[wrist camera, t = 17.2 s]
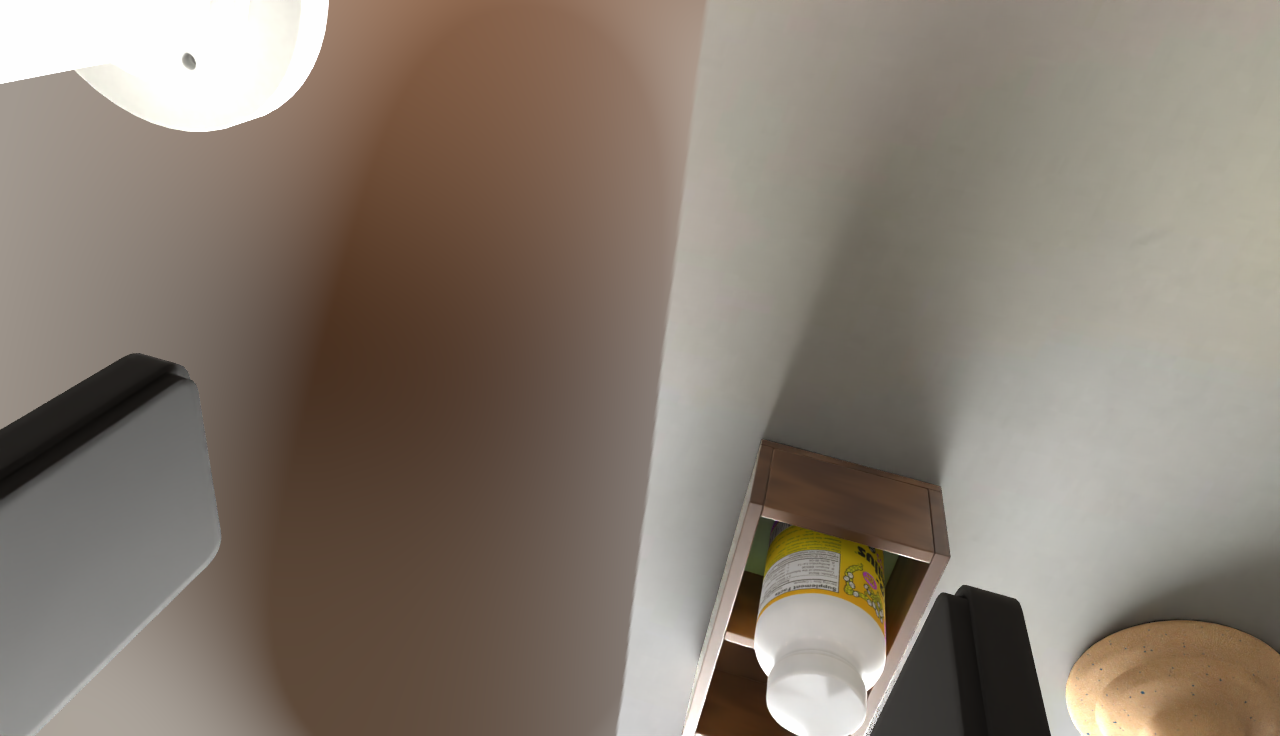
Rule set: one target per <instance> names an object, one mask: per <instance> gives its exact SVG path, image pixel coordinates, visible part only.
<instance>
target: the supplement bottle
mask: <svg viewBox="0 0 1280 736" xmlns="http://www.w3.org/2000/svg"><path fill="white" fill-rule="evenodd" d="M884 586H885V585H884V555H883V550H880V549H877V548H873V547H870V546H866V545H862V544H859V543H855V542H852V541H848V540H845V539H841V538H837V537H834V536H830V535H827V534H823V533H819V532H816V531H812V530H809V529H805V528H801V527H798V526H794V525H791V524H787V523H784V522H780V521H776V520H774V523H773V525H772V529H771V534H770V539H769V546H768V552H767V558H766V565H765V572H764V578H763V585H762V592H761V598H760V605H759V611H758V617H757V623H756V630H755V638H754V645H755V652H756V656H757V659H758V661H759V664H760V666H761V667H762V669H763V671H764V672H765V673H766V675H767V676H768V681H767V695H766V701H767V707H768V709H769V711H770V713H771V715H772V716H773V718H774V719H775V720H776V721H777V722H778V723H779V724H780V725H781V726H783V727H784V728H785V729H787V730H789V731H791V732H793V733H794V734H797V735H799V736H848V735H850V734H852V733H854V732H855V731H856V730H858V729H859V728H860V726H861V725H862V724H863V722H864V720H865V717H866V703H867V690H869V689H870V688H871V687H872V686H873V685H874V684H875V683H876V682H877V680H878V679H879V677H880V675H881V674H882V671H883V669H884V665H885V660H886V633H885V590H884Z"/></svg>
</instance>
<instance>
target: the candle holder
mask: <svg viewBox="0 0 1280 736" xmlns="http://www.w3.org/2000/svg"><path fill="white" fill-rule="evenodd" d="M1066 701H1067V706H1068V711H1069V714H1070V716H1071V718H1072V720H1073V722H1074V725H1075V726H1076V728H1077V729H1078V730H1079V732H1080V733H1081V734H1082V736H1280V655H1279V654H1278V653H1277V652H1276V651H1275V650H1274V649H1273V648H1271V647H1270V646H1268V645H1267V644H1266V643H1264V642H1263V641H1261V640H1259V639H1257V638H1255V637H1253V636H1251V635H1250V634H1248V633H1245V632H1242V631H1239V630H1237V629H1234V628H1231V627H1227V626H1223V625H1219V624H1215V623H1208V622H1201V621H1186V620H1172V621H1159V622H1152V623H1147V624H1141V625H1137V626H1134V627H1130V628H1127V629H1124V630H1121V631H1119V632H1116V633H1114V634H1112V635H1109V636H1107V637H1106V638H1104V639H1102V640H1101V641H1099V642H1097V643H1096V644H1094V645H1093V646H1092V647H1090V648H1089V649H1088V650H1087V651H1086V652H1084V653H1083V655H1082V656H1081V657H1080V658H1079V659H1078V660H1077V662H1076V663H1075V665H1074V666H1073V668H1072V670H1071V672H1070V674H1069V677H1068V681H1067V685H1066Z"/></svg>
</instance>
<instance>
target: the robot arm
mask: <svg viewBox="0 0 1280 736" xmlns="http://www.w3.org/2000/svg"><path fill="white" fill-rule="evenodd" d="M249 1H250V0H0V83H5V82H10V81H16V80H21V79H26V78H31V77H36V76H41V75H47V74H52V73H57V72H63V71H67V70H73V69H78V68H83V67H89V66H94V65H99V64H104V63H112V64H114V65H116V66H117V67H119V68H121V69H123V70H125V71H127V72H128V73H130V74H133V75H136V76H139V77H142V78H145V79H148V80H153V81H162V82H176V81H184V80H189V79H192V78H196V77H200V76H203V75H206V74H207V73H209V72H211V71H213V70H214V69H216V68H218V67H219V66H220V65H221V64H222V63H223V62H224V61H225V60H226V59H227V58H228V57H229V56H230V55H231V54H232V53H233V51H234V49H235V48H236V46H237V44H238V42H239V41H240V39H241V37H242V34H243V31H244V27H245V24H246V21H247V18H248V9H249ZM220 542H221V531H220V524H219V518H218V512H217V506H216V500H215V494H214V487H213V481H212V474H211V468H210V462H209V456H208V450H207V443H206V437H205V431H204V424H203V418H202V412H201V406H200V399H199V393H198V389H197V386H196V384H195V383H194V382H193V381H192V380H190V377H189V374H188V371H187V370H186V369H185V368H184V367H183V366H181V365H179V364H176V363H173V362H169V361H165V360H162V359H158V358H155V357H151V356H148V355H144V354H140V353H136V354H130V355H127V356H125V357H123V358H121V359H119V360H118V361H116V362H114V363H113V364H111V365H109V366H108V367H106V368H104V369H102V370H101V371H99V372H97V373H96V374H94V375H92V376H91V377H89V378H87V379H86V380H84V381H82V382H81V383H79V384H77V385H75V386H74V387H72V388H70V389H69V390H67V391H65V392H64V393H62V394H60V395H59V396H57V397H55V398H53V399H52V400H50V401H48V402H47V403H45V404H43V405H42V406H40V407H38V408H36V409H35V410H33V411H32V412H30V413H28V414H27V415H25V416H23V417H21V418H20V419H18V420H17V421H15V422H13V423H11V424H9V425H8V426H6V427H4V428H3V429H1V430H0V736H34V735H35V734H36V733H37V732H39V730H40V729H41V728H43V726H45V725H46V724H47V723H48V722H49V721H50V720H51V719H52V718H53V717H54V716H55V715H56V714H57V713H58V712H59V711H60V710H61V709H62V708H63V707H64V706H65V705H66V704H67V703H68V702H69V701H70V700H71V699H72V698H73V697H74V696H75V695H76V694H77V693H78V692H79V691H80V690H81V689H82V688H83V687H84V686H85V685H86V684H87V683H88V682H89V681H90V680H91V679H92V678H93V677H94V676H95V675H96V674H97V673H99V671H100V670H102V668H104V667H105V665H107V664H108V663H109V662H110V661H111V660H112V659H113V658H114V657H115V656H116V655H117V654H118V653H119V652H120V651H121V650H122V649H123V648H124V647H125V646H126V645H127V644H128V643H129V642H130V641H131V640H132V639H133V638H134V637H135V636H136V635H137V634H138V633H139V632H140V631H141V630H142V629H143V628H144V627H145V626H146V625H147V624H148V623H149V622H150V621H151V620H152V619H153V618H154V617H155V616H156V615H157V614H158V613H160V612H161V611H162V610H163V609H164V608H165V607H166V606H167V605H168V604H169V602H170V601H172V600H173V599H174V598H175V597H176V596H177V595H178V594H179V593H180V592H181V591H182V590H183V589H184V588H185V587H186V586H187V585H188V584H189V583H190V582H191V581H192V580H193V579H194V578H195V577H196V576H197V575H198V574H199V573H200V572H201V571H202V570H203V569H204V568H205V567H206V566H207V565H208V564H209V563H210V562H211V561H212V559H213V558H214V557H215V555H216V553H217V551H218V548H219V546H220ZM870 736H1051V734H1050V730H1049V725H1048V721H1047V717H1046V712H1045V708H1044V703H1043V699H1042V695H1041V690H1040V686H1039V681H1038V677H1037V673H1036V668H1035V664H1034V659H1033V655H1032V651H1031V646H1030V642H1029V637H1028V633H1027V629H1026V624H1025V620H1024V615H1023V611H1022V608H1021V605H1020V603H1019V602H1018V601H1017V600H1016V599H1014V598H1011V597H1007V596H1003V595H1000V594H996V593H993V592H989V591H986V590H982V589H978V588H975V587H971V586H968V585H962V586H961V587H960V588H959V589H958V591H957V592H956V594H955V595H951V594H948V593H941V594H940V595H939V596H938V597H937V599H936V601H935V603H934V605H933V607H932V609H931V611H930V613H929V615H928V617H927V619H926V621H925V623H924V625H923V627H922V629H921V632H920V634H919V636H918V638H917V640H916V642H915V644H914V646H913V648H912V650H911V652H910V654H909V656H908V658H907V660H906V662H905V664H904V666H903V669H902V671H901V673H900V675H899V677H898V679H897V681H896V683H895V685H894V687H893V689H892V691H891V693H890V695H889V697H888V699H887V701H886V703H885V706H884V708H883V710H882V712H881V714H880V716H879V718H878V720H877V722H876V724H875V726H874V728H873V730H872V732H871V734H870Z"/></svg>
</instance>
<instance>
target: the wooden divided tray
mask: <svg viewBox="0 0 1280 736" xmlns="http://www.w3.org/2000/svg"><path fill="white" fill-rule="evenodd" d="M774 520H776V521H780V522H784V523H787V524H791V525H794V526H798V527H801V528H805V529H809V530H812V531H816V532H819V533H823V534H827V535H830V536H834V537H837V538H841V539H845V540H848V541H852V542H855V543H859V544H862V545H866V546H870V547H873V548H877V549H880V550H883V555H884V585H885V586H884V590H885V633H886V660H885V665H884V669H883V671H882V674H881V675H880V677H879V679H878V680H877V682H876V683H875V684H874V685H873V686H872V687H871V688H870V689H869V690H867V703H866V717H865V720H864V722H863V724H862V725H861V726H860V728H859V729H858V730H856V731H855V732H854V733H852V734H850V735H848V736H865V734H866V732H867V730H868V728H869V726H870V724H871V721H872V719H873V717H874V715H875V713H876V711H877V709H878V707H879V705H880V703H881V701H882V699H883V697H884V694H885V692H886V690H887V688H888V686H889V684H890V682H891V680H892V678H893V676H894V674H895V672H896V670H897V667H898V665H899V663H900V661H901V659H902V657H903V655H904V653H905V651H906V649H907V647H908V645H909V643H910V640H911V638H912V636H913V634H914V632H915V630H916V628H917V626H918V624H919V622H920V620H921V618H922V616H923V613H924V611H925V609H926V607H927V605H928V603H929V601H930V599H931V597H932V595H933V593H934V591H935V589H936V586H937V584H938V582H939V580H940V578H941V576H942V574H943V572H944V570H945V568H946V566H947V564H948V561H949V559H950V549H949V542H948V535H947V527H946V520H945V512H944V505H943V497H942V490H941V486H937V485H934V484H930V483H926V482H922V481H918V480H915V479H911V478H907V477H903V476H900V475H896V474H892V473H888V472H885V471H881V470H877V469H873V468H870V467H866V466H862V465H858V464H855V463H851V462H847V461H843V460H840V459H836V458H832V457H828V456H824V455H821V454H817V453H813V452H809V451H806V450H802V449H798V448H794V447H791V446H787V445H783V444H779V443H776V442H772V441H768V440H764V439H762V440H761V443H760V446H759V450H758V453H757V457H756V460H755V464H754V467H753V471H752V474H751V478H750V481H749V485H748V488H747V492H746V495H745V499H744V502H743V506H742V509H741V513H740V516H739V520H738V523H737V527H736V530H735V534H734V537H733V541H732V545H731V548H730V552H729V555H728V559H727V562H726V566H725V569H724V573H723V576H722V580H721V583H720V587H719V590H718V594H717V597H716V601H715V604H714V608H713V611H712V615H711V618H710V622H709V625H708V629H707V632H706V636H705V639H704V643H703V646H702V650H701V653H700V657H699V660H698V664H697V669H696V673H695V677H694V682H693V686H692V691H691V695H690V700H689V704H688V709H687V713H686V718H685V722H684V726H683V731H682V735H683V736H799V735H797V734H794V733H793V732H791V731H789V730H787V729H785V728H784V727H783V726H781V725H780V724H779V723H778V722H777V721H776V720H775V719H774V718H773V716H772V715H771V713H770V711H769V709H768V707H767V701H766V695H767V681H768V676H767V675H766V673H765V672H764V671H763V669H762V667H761V666H760V664H759V661H758V659H757V656H756V652H755V645H754V638H755V630H756V623H757V617H758V611H759V605H760V598H761V592H762V585H763V578H764V572H765V565H766V558H767V552H768V546H769V539H770V534H771V529H772V525H773V523H774Z"/></svg>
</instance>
